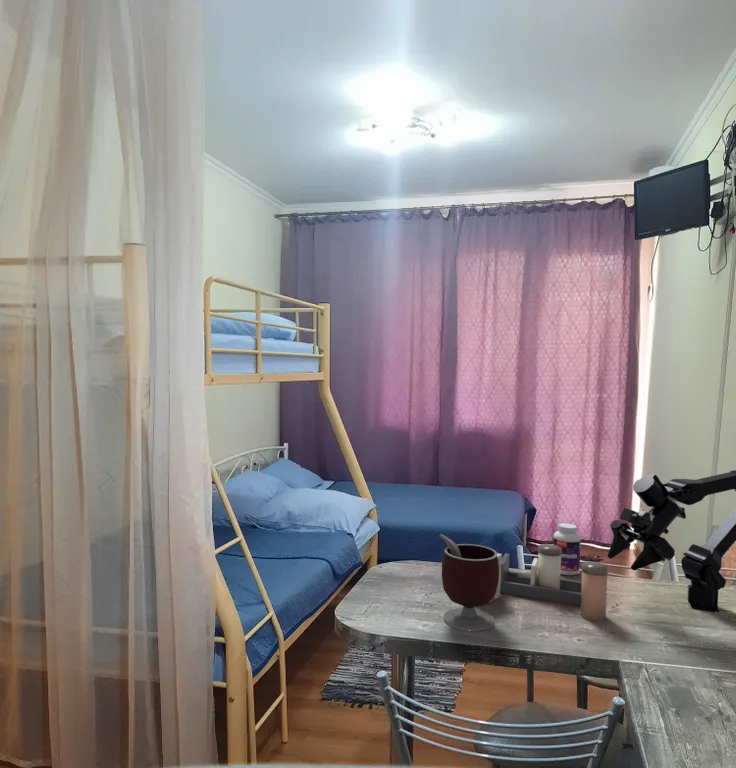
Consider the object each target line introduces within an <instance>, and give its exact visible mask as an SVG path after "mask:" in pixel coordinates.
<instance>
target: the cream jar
mask: <svg viewBox="0 0 736 768" xmlns="http://www.w3.org/2000/svg"><path fill="white" fill-rule="evenodd" d="M537 551H538V554H537V556H538V585H537V586H540V587H546V588H553V589H559V590H560V578H561V575H562V574H561V554H562V548H561V547H560V546H557V545H553V543H552V544H551V543H542V544H541V543H540V544H538V549H537Z"/></svg>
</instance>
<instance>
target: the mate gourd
mask: <svg viewBox="0 0 736 768" xmlns="http://www.w3.org/2000/svg"><path fill="white" fill-rule="evenodd" d="M438 537H439V538H441V539H442V540H444V542H445V544H446V545H447V547H445V548H444V553H443V555H442V560H441V561H442V563H441V581H442V587H443V591H444V593H445V594H446V595H447V597H448V599H449V600H450V601H451V602H453V603H455V604H457V605H459V606H461V607H456V608H452V609H449V610H447V611H446V612H444V614H443V621H444V623H446V625H448V626H450V627H451V628H453V629H456V628H457V630H460V629H463V630H462V631H464V630H471V631H470V632H482V631H481V630H483V631H486V630H485V629H487V630H489V628H490V629H491V628H493V626H494V625H495V619H494V616H493V615H491V614H490V613H489V612H486V611H484V610H482V609H481V610H480V609H476V608H477V607H482V606H485V605H487V604H488V603H489V602H490V600H491V599H492V598H493V597H494V596H495V594H496V590H497V587H498V581H499V564H498V558H497V553H498V551H496V550H495V549H493V548H491V547H487V546H484V545H479V544H473V543H471V544H470V543H460V544H459V543H458V544H456V542H454V541H453V540H452V539H450V538H449V537H447V536H446V535H443V533H440V534H439V536H438ZM479 630H480V631H479Z"/></svg>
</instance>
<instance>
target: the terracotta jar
mask: <svg viewBox="0 0 736 768" xmlns="http://www.w3.org/2000/svg"><path fill="white" fill-rule="evenodd" d="M608 573H609V566H608V565H607V564H605V563H602V562H598V561H583V562H582V563H581V582H582V586H581V606H580V616H581V617H582V618H583V619H585V620H589V621H593V622H603V621H605V620H606V617H607V595H608V593H607V592H608V591H607V590H608ZM602 620H603V621H602Z"/></svg>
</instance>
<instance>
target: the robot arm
mask: <svg viewBox="0 0 736 768" xmlns="http://www.w3.org/2000/svg"><path fill="white" fill-rule="evenodd" d="M632 490H633V492H634V493H635V494H636V495H637V496H638V497H639V499H640V500H641V501H642V503H644V504H645V506H647V507H649V508H650V507H651V508H650V510H648V512H647V511H644V510H641V511H639V512H637V511H635V510H633V509H630V508H627V507H623V509H622V512H621V513H620V516H619V519H615V520H613V521H612V522H610V525H609V527H610V529H611V532H612V535H613V539H612V542H611V545H610V547H609V550H608V552H607V558H608V559H609V560H610V559H613V558H614V557H616V556H617V555H619V554H621V553H622V552H624V551H625V550H626V549H628V548H629V547H630V546H631V544H630V543H634V541H637V542H640V543H642V544H643V548H642V551H641V552H640V553H639V555H638V556H637V557H636V558H635V560H634V561H633V563H632V564H631V566H630V569H631V570H632V571H637V570H640V569H642V568H645V567H647V566H650V565H654V564H656V563H658V562H665V561H666V560H667V561H671V560H672V559H673V558H674V557H675V551H676V549H674V547H672V545H671V544H670V543H669V542H668V540H667V539H666V538H665V537H662V535H663V534H665V535H668V533H669V532H670V530H668V527H669V526H670V525H672V523H673V522H674V520H675V519H676V518H681V519H683V520H684V519H686V518H687V514H686V511H685V509H686V508H685V507H683V506H680V505H678V503H680V504H684V505H686V506H692V505H695V504H697V503H699V502H701V501H703V500H704V498H705V497H707V496H710V495H714V494H718V493H723V492H727V491H731V490H732V491H733V490H734V491H735V492H736V470H735V469H733V470H730V471H728V472H725V473H720V474H716V475H710V476H706V477H703V478H697V479H692V478H691V479H689V478H673V479H670V480H668V481H667V482H666V483H663V482H662V481H661V480H660V478H659V477H658V476H657V474H655V473H649V474H648V475H647V476H642V477H641V478H640V479H637V480H636V481H635V482H634V484H633V485H632ZM628 523H629V524H628ZM735 542H736V507H735V508H734V509H733V510H732V511H731V512H730V514H729V515H728V516H727V518H726V519H725V520H724V521H723V522H722V523H721V524H720V526H719V527H718V528H717V529H716V530H715V531H714V532H713V534H712V535H711V536H710V537H709V538H708V539H707V541H706V542H705V543H704V544H702V545H701V544H700V545H698V544H695V543H692V544H691V545H690V547H689V548H688V549H687V551H685V552H683V556H682V558H681V561H680V563H681V568H682V569H681V570H682V571H683V574H684V577H685V578H686V579H687V580H690V584H688V585H687V598H686V599H687V602H688V604H689V607H690V608H691V609H692V608H693V609H697V610H703V611H704V610H705V611H711V612H717V613H719V612H720V609H719V607H718V606H719V591H720V590H721V589H725V587H726V583H727V579H726V578H725V577H724V576H723V574H721V573H720V570H721V569H722V563H723V561H722V560H723V556H725V554H726V553H727V552H728V551H729V549H730V548H731V547H732V546H733V545H734V543H735Z"/></svg>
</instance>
